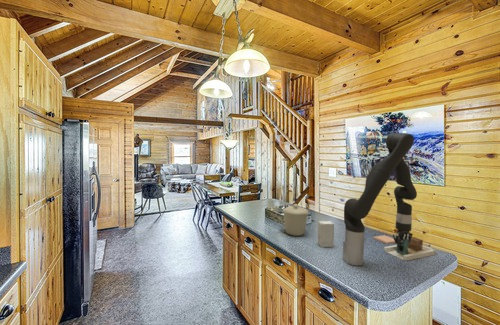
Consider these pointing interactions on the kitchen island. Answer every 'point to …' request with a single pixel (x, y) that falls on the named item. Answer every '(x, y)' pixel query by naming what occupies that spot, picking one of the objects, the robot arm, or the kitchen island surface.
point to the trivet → (384, 239)
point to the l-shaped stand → (406, 248)
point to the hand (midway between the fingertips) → (402, 250)
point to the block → (415, 244)
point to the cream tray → (410, 256)
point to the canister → (295, 220)
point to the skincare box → (326, 233)
